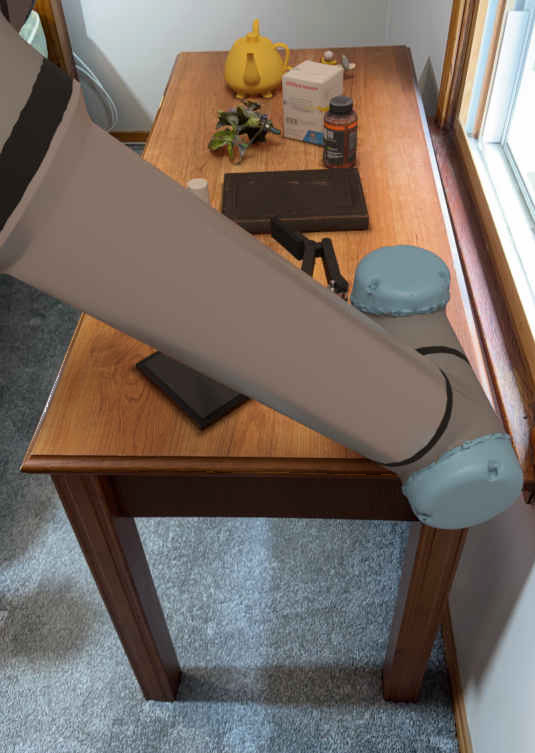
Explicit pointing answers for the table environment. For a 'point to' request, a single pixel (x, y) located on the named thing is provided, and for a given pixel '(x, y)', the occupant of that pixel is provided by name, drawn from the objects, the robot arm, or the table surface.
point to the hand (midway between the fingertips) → (226, 243)
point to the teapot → (255, 64)
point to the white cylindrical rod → (199, 189)
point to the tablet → (190, 389)
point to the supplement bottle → (340, 133)
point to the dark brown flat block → (296, 200)
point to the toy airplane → (328, 61)
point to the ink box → (309, 99)
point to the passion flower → (242, 127)
